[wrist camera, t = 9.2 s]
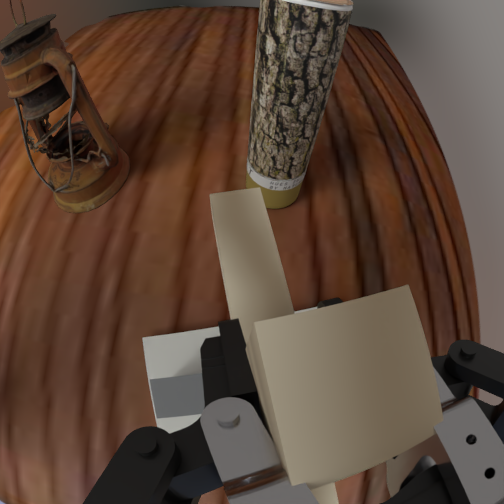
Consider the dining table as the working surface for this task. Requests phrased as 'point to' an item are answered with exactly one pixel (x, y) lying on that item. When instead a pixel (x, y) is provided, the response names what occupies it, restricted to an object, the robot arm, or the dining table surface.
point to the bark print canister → (291, 90)
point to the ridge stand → (177, 376)
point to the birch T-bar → (324, 359)
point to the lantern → (69, 136)
